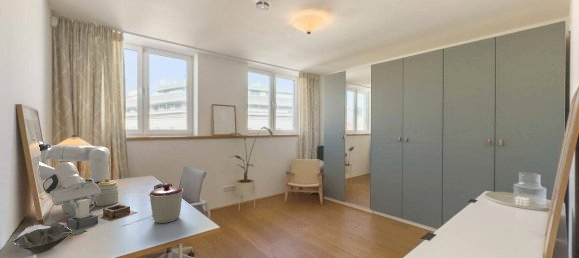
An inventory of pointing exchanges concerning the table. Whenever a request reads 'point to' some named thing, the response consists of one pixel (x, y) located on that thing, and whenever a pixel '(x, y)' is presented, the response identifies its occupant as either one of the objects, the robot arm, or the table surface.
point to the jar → (107, 193)
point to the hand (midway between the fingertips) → (83, 205)
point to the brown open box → (116, 212)
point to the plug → (82, 209)
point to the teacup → (71, 209)
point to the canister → (166, 203)
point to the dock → (83, 224)
